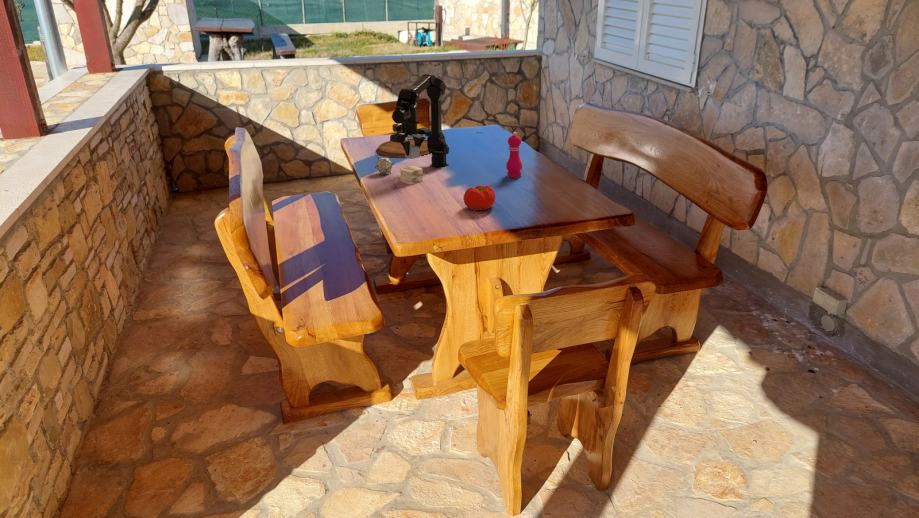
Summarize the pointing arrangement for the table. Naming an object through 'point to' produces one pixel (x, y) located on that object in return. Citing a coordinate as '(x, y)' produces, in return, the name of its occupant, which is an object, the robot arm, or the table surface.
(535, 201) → the table surface
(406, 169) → the slab upper
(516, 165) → the pepper mill
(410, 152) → the cube
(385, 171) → the spiky ball
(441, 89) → the robot arm
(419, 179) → the slab lower
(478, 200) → the tomato
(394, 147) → the cutting board
